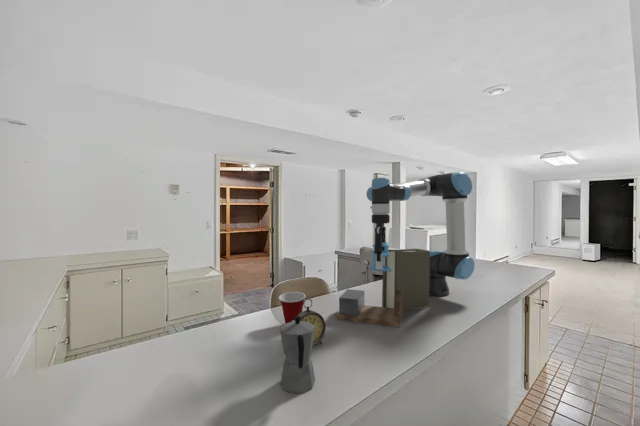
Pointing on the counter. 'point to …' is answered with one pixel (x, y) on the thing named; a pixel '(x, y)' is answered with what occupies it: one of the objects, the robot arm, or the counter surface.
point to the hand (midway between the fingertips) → (380, 267)
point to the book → (407, 278)
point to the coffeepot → (297, 356)
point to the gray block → (351, 302)
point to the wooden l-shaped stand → (379, 314)
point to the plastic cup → (292, 304)
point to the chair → (382, 256)
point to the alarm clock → (314, 323)
